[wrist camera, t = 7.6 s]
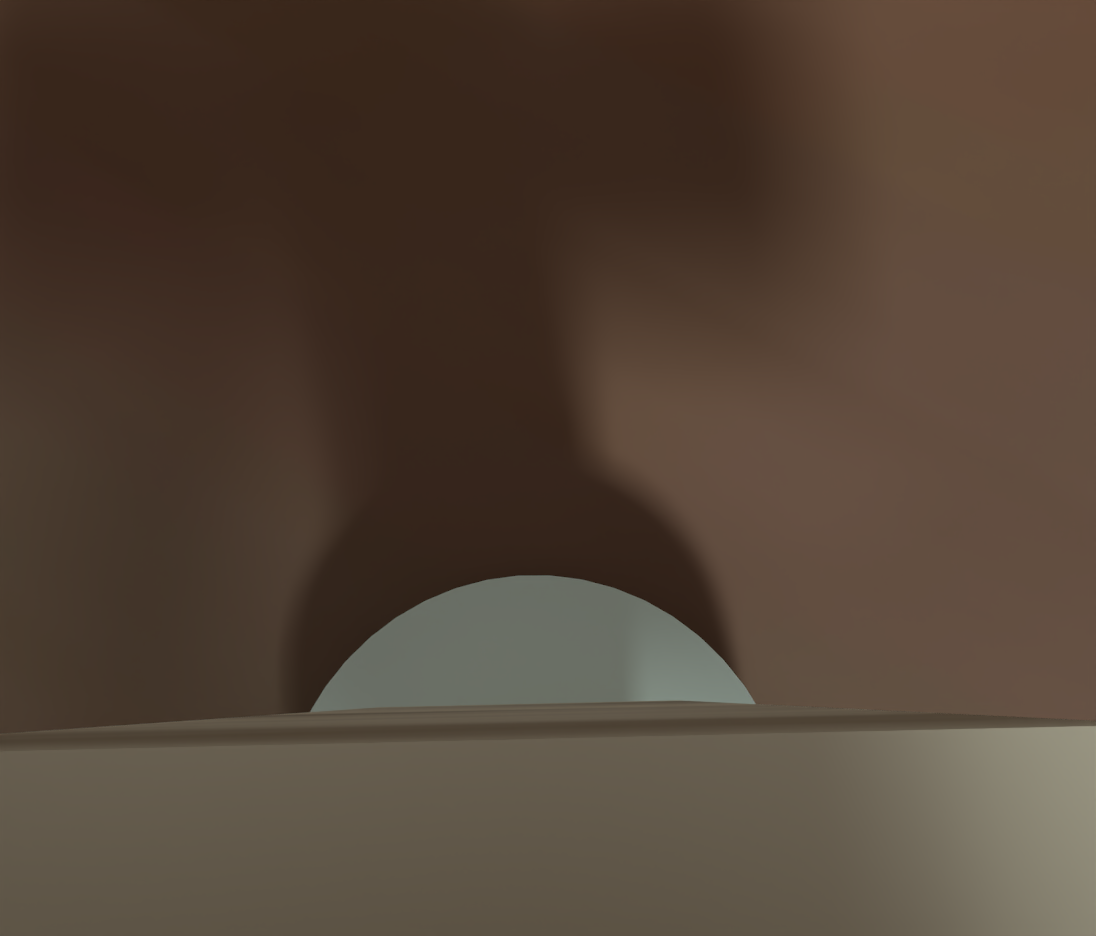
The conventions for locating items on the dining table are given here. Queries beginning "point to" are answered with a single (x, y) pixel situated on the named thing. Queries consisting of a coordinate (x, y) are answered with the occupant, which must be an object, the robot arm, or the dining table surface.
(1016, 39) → the dining table surface
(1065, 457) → the dining table surface
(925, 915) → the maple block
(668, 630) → the plinth
